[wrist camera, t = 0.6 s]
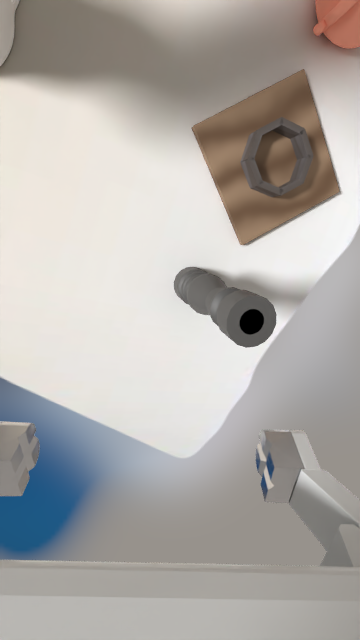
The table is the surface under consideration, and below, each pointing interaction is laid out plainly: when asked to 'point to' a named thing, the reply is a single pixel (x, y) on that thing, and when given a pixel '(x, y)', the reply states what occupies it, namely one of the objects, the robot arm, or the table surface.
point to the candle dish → (268, 157)
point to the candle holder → (227, 306)
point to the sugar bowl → (339, 21)
